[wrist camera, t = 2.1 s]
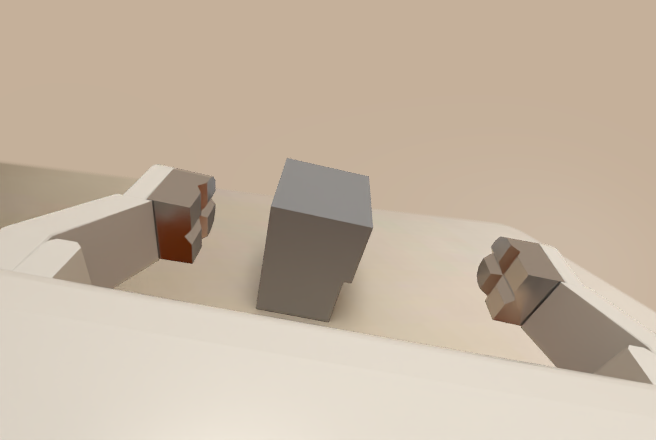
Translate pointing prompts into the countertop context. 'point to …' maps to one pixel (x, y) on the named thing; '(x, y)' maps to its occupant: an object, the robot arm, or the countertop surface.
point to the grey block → (313, 239)
